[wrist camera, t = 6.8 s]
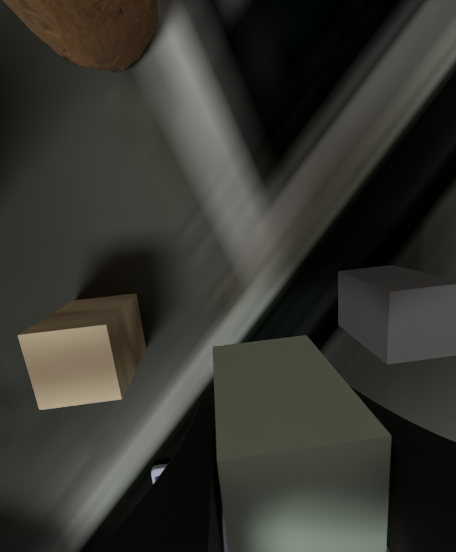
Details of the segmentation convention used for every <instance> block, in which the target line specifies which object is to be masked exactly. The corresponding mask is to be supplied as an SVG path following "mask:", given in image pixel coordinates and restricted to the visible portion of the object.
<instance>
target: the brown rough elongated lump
mask: <svg viewBox="0 0 456 552" xmlns="http://www.w3.org/2000/svg"><path fill="white" fill-rule="evenodd" d="M2 1H4V2H5V3H6V4H7V5H8V7H9V8H10V9H11V10H12V11H13V12H14V13H15V14H16V15H17V16H18V17H19V18H20V19H21V20H22V21H23V22H24V24H25V25H26V26H27V27H28V28H29V29H30V30H31V31H32V32H33V33H34V34H35V35H37V36H38V37H39V38H40V39H41V40H42V41H44V42H45V43H46V44H48V45H49V46H50V47H51V48H52V49H53V50H54V51H55V52H56V53H57V54H59V55H60V56H62V57H63V58H64V59H66V60H67V61H69V62H72V63H74V64H77V65H79V66H82V67H88V68H91V67H92V68H99V69H100V70H111V71H113V72H120V71H124V70H126V69H127V68H128V67H129V66H130V65H131V64H132V63H133V62H135V61H136V60H137V59H138V58H139V57H140V56H141V55H142V53H143V51H144V49H145V47H146V45H147V44H148V43H149V42H150V40H151V38H152V36H153V33H154V31H155V29H156V25H157V21H158V10H157V0H2Z"/></svg>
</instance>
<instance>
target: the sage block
mask: <svg viewBox="0 0 456 552" xmlns="http://www.w3.org/2000/svg"><path fill="white" fill-rule="evenodd" d="M213 367H214V395H215V423H216V452H217V466H218V474H219V482H220V490H221V498H222V506H223V513H224V521H225V529H226V537H227V545H228V552H386V544H387V522H388V500H389V479H390V457H391V435H390V433H389V432H388V431H387V430H386V429H385V428H384V426H383V425H382V424H381V423H380V422H379V420H378V419H377V418H376V417H375V416H374V415H373V413H372V412H371V411H370V410H369V409H368V407H367V406H366V405H365V404H364V403H363V402H362V400H361V399H360V398H359V397H358V396H357V394H356V393H355V392H354V391H353V390H352V389H351V387H350V386H349V385H348V384H347V383H346V381H345V380H344V379H343V378H342V377H341V376H340V374H339V373H338V372H337V371H336V370H335V368H334V367H333V366H332V365H331V364H330V363H329V361H328V360H327V359H326V358H325V357H324V355H323V354H322V353H321V352H320V351H319V350H318V348H317V347H316V346H315V345H314V344H313V343H312V341H311V340H310V339H309V338H308V337H307V335H305V336H297V337H289V338H281V339H272V340H264V341H256V342H248V343H240V344H232V345H224V346H215V347H213Z"/></svg>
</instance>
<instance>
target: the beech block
mask: <svg viewBox="0 0 456 552" xmlns="http://www.w3.org/2000/svg"><path fill="white" fill-rule="evenodd" d="M18 338H19V342H20V345H21V349H22V352H23V355H24V359H25V362H26V366H27V369H28V372H29V376H30V379H31V383H32V386H33V390H34V393H35V396H36V400H37V403H38V407H39V410H44V409H51V408H59V407H66V406H74V405H82V404H89V403H97V402H104V401H112V400H119V399H122V398H123V396H124V394H125V392H126V389H127V387H128V385H129V383H130V381H131V379H132V377H133V375H134V373H135V371H136V369H137V367H138V364H139V362H140V360H141V358H142V356H143V354H144V352H145V350H146V345H145V339H144V333H143V328H142V322H141V317H140V311H139V306H138V300H137V295H136V293H135V294H127V295H118V296H109V297H100V298H91V299H82V300H74V301H73V302H71V303H69V304H68V305H66V306H65V307H63V308H61V309H60V310H58V311H56V312H55V313H53V314H51V315H50V316H48V317H46V318H45V319H43V320H42V321H40V322H38V323H37V324H35V325H33V326H32V327H30V328H28V329H27V330H25V331H23V332H22V333H20V334H19V335H18Z"/></svg>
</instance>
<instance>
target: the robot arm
mask: <svg viewBox="0 0 456 552" xmlns="http://www.w3.org/2000/svg"><path fill="white" fill-rule="evenodd" d="M351 389H352V390H353V391H354V392H355V393H356V394H357V396H358V397H359V398H360V399H361V400H362V402H363V403H364V404H365V405H366V406H367V407H368V409H369V410H370V411H371V412H372V413H373V415H374V416H375V417H376V418H377V419H378V420H379V422H380V423H381V424H382V425H383V426H384V428H385V429H386V430H387V431H388V432H389V433H390V435H391V457H390V479H389V500H388V522H387V547H388V549H389V551H390V552H456V442H454V441H451V440H449V439H446V438H444V437H442V436H439V435H437V434H435V433H433V432H430V431H428V430H426V429H424V428H422V427H420V426H418V425H416V424H414V423H412V422H410V421H408V420H406V419H404V418H402V417H400V416H398V415H397V414H395V413H393V412H391V411H389V410H388V409H386V408H384V407H382V406H381V405H379V404H377V403H376V402H374V401H372V400H371V399H369V398H367V397H366V396H364V395H363V394H361V393H359V392H358V391H356V390H355V389H353V388H352V387H351ZM151 476H152V481H153V485H152V487H151V488H150V489H149V490H148V492H147V493H146V494H145V495H144V497H143V498H142V499H141V500H140V501H139V503H138V504H137V505H136V506H135V507H134V508H133V510H132V511H131V512H130V513H129V514H128V515H127V517H126V518H125V519H124V520H123V521H122V522H121V523H120V524H119V525H118V526H117V527H116V528H115V529H114V530H113V531H112V532H111V533H110V534H109V535H108V536H107V537H106V538H105V539H104V540H103V541H102V542H101V543H100V544H99V545H98V546H97V547H96V548H95V549H94V550H93V551H92V552H228V545H227V537H226V529H225V521H224V513H223V506H222V498H221V490H220V482H219V474H218V466H217V452H216V423H215V395H214V391H211V392H203V394H202V395H201V398H200V401H199V404H198V406H197V409H196V412H195V414H194V416H193V418H192V421H191V423H190V425H189V427H188V429H187V431H186V433H185V435H184V437H183V439H182V440H181V442H180V444H179V446H178V448H177V450H176V451H175V453H174V455H173V456H172V458H171V459H170V461H169V462H168V464H162V465H156V466H154V467H153V468H152V471H151ZM157 476H159V477H157Z"/></svg>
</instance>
